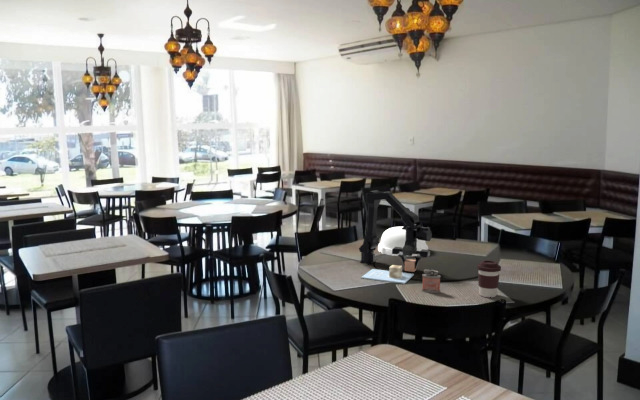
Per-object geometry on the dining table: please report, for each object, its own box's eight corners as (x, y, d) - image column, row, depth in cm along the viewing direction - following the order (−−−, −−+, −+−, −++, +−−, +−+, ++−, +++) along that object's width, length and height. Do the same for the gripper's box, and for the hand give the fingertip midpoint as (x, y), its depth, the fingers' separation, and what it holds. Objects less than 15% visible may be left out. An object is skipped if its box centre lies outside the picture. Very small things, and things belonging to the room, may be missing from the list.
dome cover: (405, 242, 334) (406, 221, 332) (440, 252, 309) (440, 228, 307) (366, 249, 317) (366, 226, 315) (399, 259, 292) (399, 235, 290)
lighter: (440, 291, 236) (441, 269, 235) (439, 293, 233) (440, 271, 231) (422, 289, 239) (423, 268, 237) (421, 291, 235) (421, 270, 234)
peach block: (404, 270, 269) (404, 261, 268) (407, 268, 273) (407, 259, 273) (414, 271, 267) (414, 262, 266) (416, 269, 271) (416, 260, 271)
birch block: (389, 277, 256) (389, 267, 255) (392, 274, 260) (392, 264, 260) (399, 278, 254) (399, 268, 253) (402, 275, 258) (402, 265, 258)
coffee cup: (472, 292, 234) (473, 259, 232) (494, 291, 235) (495, 258, 233) (481, 299, 224) (482, 265, 222) (503, 298, 225) (505, 264, 223)
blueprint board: (361, 278, 256) (361, 276, 256) (372, 270, 271) (372, 268, 271) (404, 283, 247) (404, 282, 247) (413, 275, 261) (414, 273, 261)
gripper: (388, 240, 265) (388, 270, 267) (425, 243, 257) (424, 274, 259) (395, 235, 275) (395, 264, 277) (430, 239, 267) (429, 268, 269)
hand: (410, 268), depth 270 cm, fingers closed on peach block, 5 cm apart
